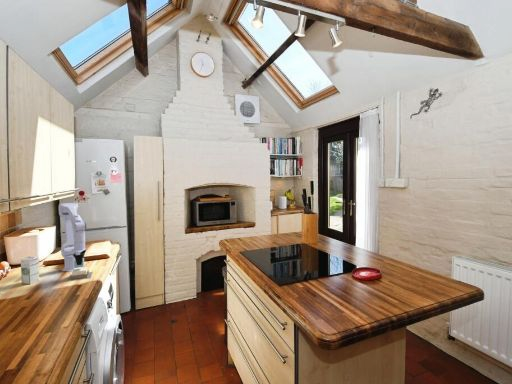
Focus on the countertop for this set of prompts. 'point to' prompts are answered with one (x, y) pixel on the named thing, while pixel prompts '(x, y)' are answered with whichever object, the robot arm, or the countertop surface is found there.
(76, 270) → the cream slab
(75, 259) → the teal cube
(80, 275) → the walnut slab
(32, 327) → the countertop surface
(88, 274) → the slate mat
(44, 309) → the countertop surface
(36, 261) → the syrup box
